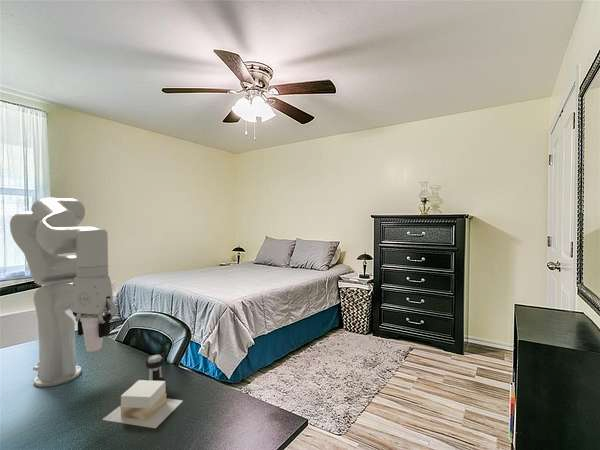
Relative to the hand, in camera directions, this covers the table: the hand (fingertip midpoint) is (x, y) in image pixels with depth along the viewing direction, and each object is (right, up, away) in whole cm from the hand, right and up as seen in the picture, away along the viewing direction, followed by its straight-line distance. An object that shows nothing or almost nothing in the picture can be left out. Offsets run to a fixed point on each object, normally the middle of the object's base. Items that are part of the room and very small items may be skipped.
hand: (93, 334), depth 89 cm
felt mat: (+16, -20, -3) cm, 26 cm away
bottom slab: (+16, -20, -3) cm, 26 cm away
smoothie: (0, -4, 0) cm, 4 cm away
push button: (+13, -20, +8) cm, 25 cm away
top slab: (+16, -17, -3) cm, 23 cm away
